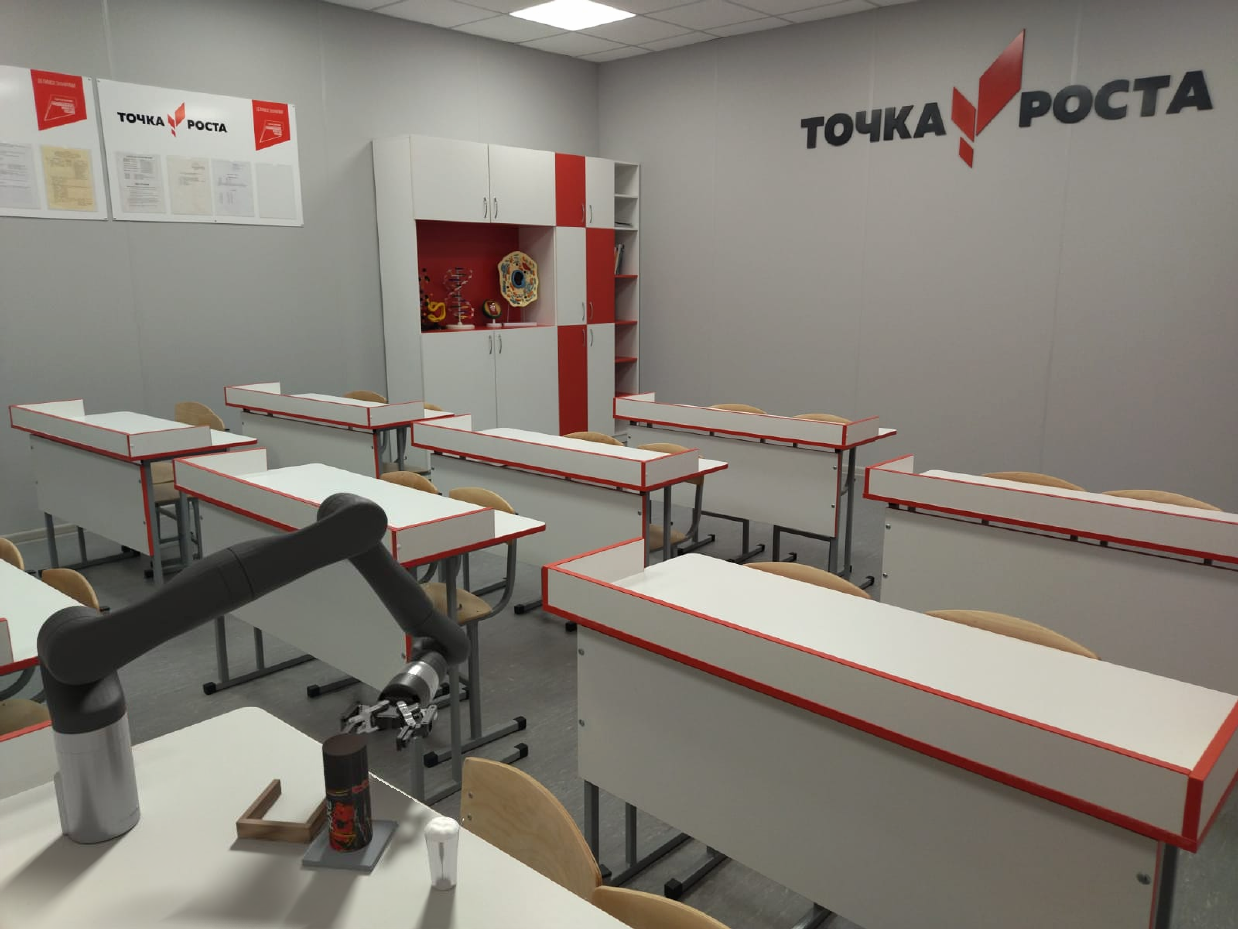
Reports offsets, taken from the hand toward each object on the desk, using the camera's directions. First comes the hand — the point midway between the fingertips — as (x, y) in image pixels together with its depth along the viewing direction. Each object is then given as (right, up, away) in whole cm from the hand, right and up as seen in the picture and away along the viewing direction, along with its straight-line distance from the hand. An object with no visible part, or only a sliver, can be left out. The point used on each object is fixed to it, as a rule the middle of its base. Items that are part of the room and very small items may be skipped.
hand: (371, 743), depth 131 cm
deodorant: (-1, -12, -6) cm, 13 cm away
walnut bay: (-12, -11, 0) cm, 16 cm away
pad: (-1, -12, -6) cm, 14 cm away
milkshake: (+14, -14, -14) cm, 24 cm away
